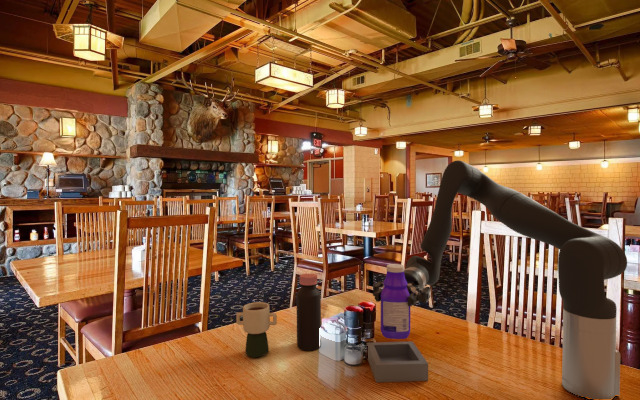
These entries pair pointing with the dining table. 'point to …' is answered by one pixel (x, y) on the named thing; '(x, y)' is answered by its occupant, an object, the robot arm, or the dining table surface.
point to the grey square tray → (397, 362)
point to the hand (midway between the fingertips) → (393, 299)
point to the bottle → (395, 304)
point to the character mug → (256, 327)
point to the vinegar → (308, 313)
